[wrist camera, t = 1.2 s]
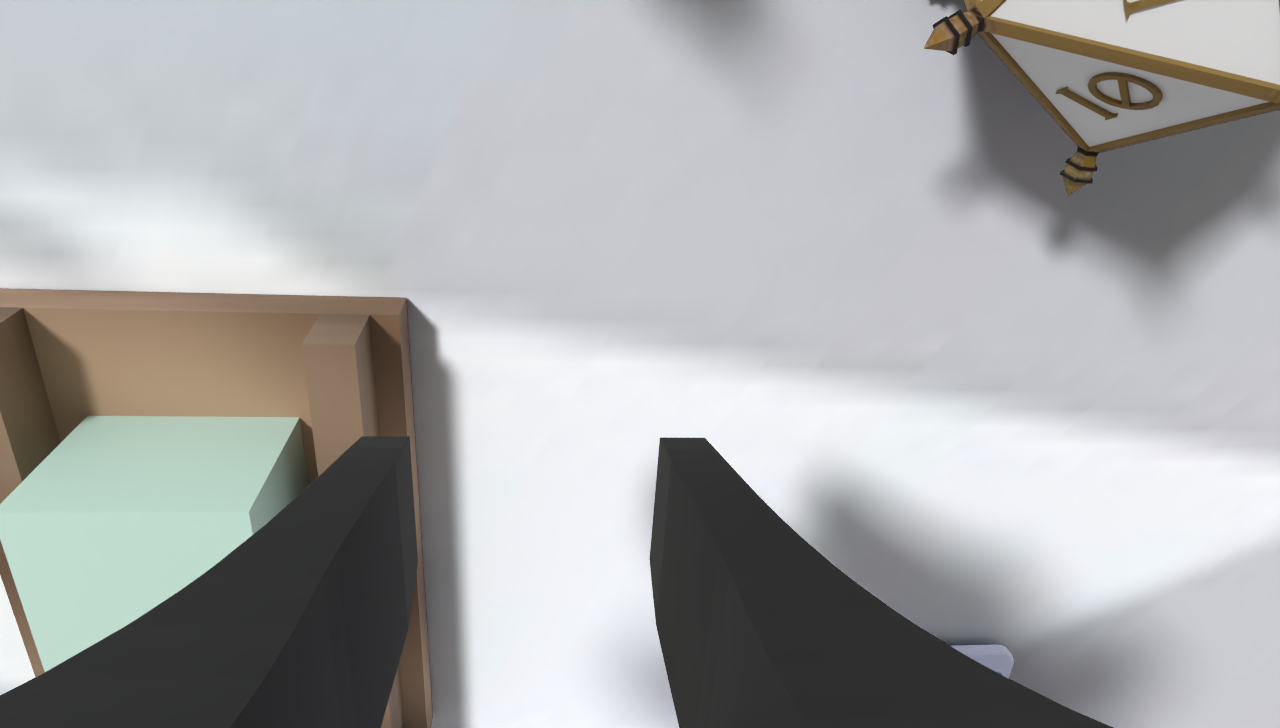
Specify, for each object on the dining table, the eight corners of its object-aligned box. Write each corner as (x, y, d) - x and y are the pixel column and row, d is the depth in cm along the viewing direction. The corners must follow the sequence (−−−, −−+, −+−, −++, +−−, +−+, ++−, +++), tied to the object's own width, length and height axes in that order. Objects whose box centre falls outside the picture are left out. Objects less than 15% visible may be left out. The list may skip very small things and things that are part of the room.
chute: (432, 715, 24) (415, 828, 21) (102, 725, 23) (32, 846, 20) (406, 297, 19) (376, 367, 16) (-33, 287, 18) (-159, 360, 15)
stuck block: (318, 560, 20) (276, 671, 17) (125, 562, 20) (46, 677, 17) (299, 417, 19) (249, 511, 16) (87, 415, 18) (-9, 512, 15)
